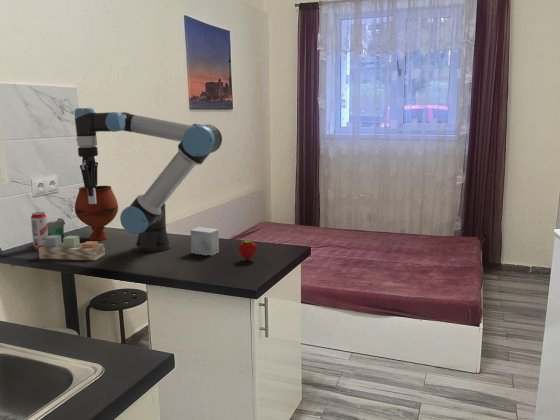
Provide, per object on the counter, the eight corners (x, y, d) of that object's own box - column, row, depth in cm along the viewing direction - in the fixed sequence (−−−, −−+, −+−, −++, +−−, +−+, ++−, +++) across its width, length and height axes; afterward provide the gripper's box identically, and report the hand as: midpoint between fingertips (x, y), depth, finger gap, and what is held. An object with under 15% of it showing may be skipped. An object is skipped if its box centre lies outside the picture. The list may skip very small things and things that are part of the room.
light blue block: (61, 244, 212) (61, 235, 211) (56, 247, 207) (55, 238, 207) (51, 244, 212) (50, 235, 212) (45, 247, 208) (44, 237, 207)
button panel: (104, 254, 213) (104, 243, 212) (95, 260, 204) (94, 249, 203) (51, 252, 215) (50, 242, 215) (39, 258, 207) (38, 248, 206)
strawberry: (257, 262, 202) (257, 238, 200) (238, 262, 201) (238, 238, 199) (256, 258, 207) (256, 234, 205) (238, 258, 206) (237, 235, 205)
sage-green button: (79, 245, 211) (79, 235, 210) (74, 248, 207) (73, 238, 206) (69, 244, 211) (68, 235, 211) (63, 247, 207) (63, 238, 206)
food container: (55, 245, 227) (53, 224, 225) (43, 244, 228) (41, 223, 226) (72, 239, 239) (70, 218, 237) (60, 238, 240) (58, 218, 238)
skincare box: (190, 253, 214) (189, 229, 212) (199, 250, 220) (198, 226, 218) (211, 256, 210) (210, 232, 208) (219, 252, 216) (219, 228, 214)
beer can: (30, 249, 220) (27, 214, 217) (40, 246, 226) (37, 211, 223) (42, 250, 218) (39, 214, 215) (52, 247, 224) (49, 212, 221)
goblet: (128, 236, 243) (125, 186, 238) (95, 245, 227) (91, 191, 222) (102, 232, 253) (98, 183, 248) (68, 240, 237) (64, 187, 232)
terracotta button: (98, 250, 211) (97, 241, 210) (93, 253, 206) (92, 244, 205) (88, 250, 211) (87, 241, 210) (82, 253, 207) (81, 243, 206)
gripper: (85, 145, 211) (90, 201, 215) (71, 147, 198) (77, 206, 203) (102, 145, 211) (107, 200, 215) (90, 147, 198) (95, 206, 202)
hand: (92, 203), depth 209 cm, fingers closed
